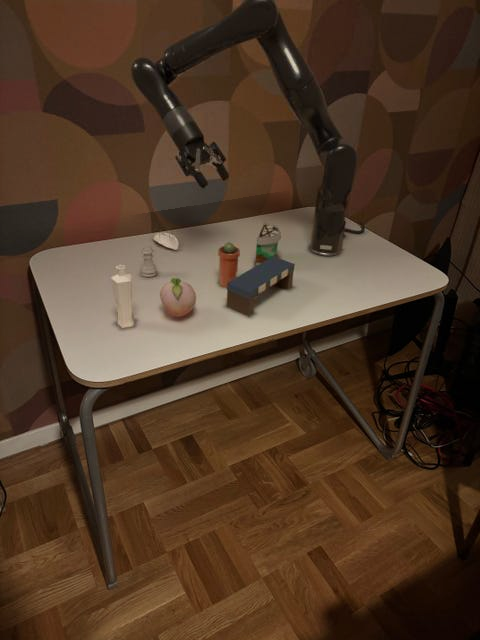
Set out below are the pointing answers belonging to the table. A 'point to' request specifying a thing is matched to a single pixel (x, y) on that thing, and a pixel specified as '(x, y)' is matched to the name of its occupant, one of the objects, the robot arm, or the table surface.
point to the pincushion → (167, 240)
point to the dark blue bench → (258, 283)
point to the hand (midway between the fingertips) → (216, 182)
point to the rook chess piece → (148, 263)
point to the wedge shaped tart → (267, 242)
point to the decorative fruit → (177, 297)
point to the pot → (228, 263)
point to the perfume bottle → (123, 296)
